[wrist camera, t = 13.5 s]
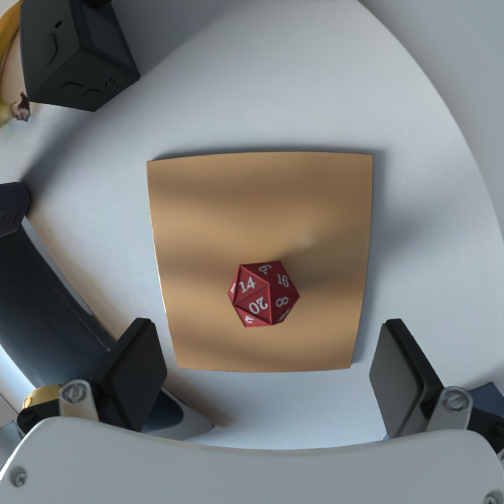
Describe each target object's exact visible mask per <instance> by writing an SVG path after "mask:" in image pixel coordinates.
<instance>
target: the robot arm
mask: <svg viewBox="0 0 504 504" xmlns="http://www.w3.org/2000/svg"><path fill="white" fill-rule="evenodd" d="M166 377H167V368H166V364H165V361H164V357H163V354H162V350H161V346H160V342H159V338H158V335H157V331H156V326H155V324H154V323H153V322H151V320H150V319H147V318H136V319H135V320H134V321H133V322H132V324H131V325H130V326H129V327H128V329H127V330H126V331H125V332H124V334H123V335H122V336H121V337H120V338H119V340H118V341H117V342H116V344H115V345H114V346H113V347H112V349H111V350H110V351H109V352H108V354H107V355H106V356H105V357H104V359H103V360H102V361H101V363H100V364H99V365H98V366H97V368H96V369H95V370H94V372H93V373H92V374H91V376H90V381H89V382H88V383H87V382H86V381H84V380H79V379H76V380H71V381H69V382H67V383H65V384H64V385H63V386H62V387H61V388H60V390H59V394H58V398H57V399H54V400H51V401H47V402H44V403H40V404H36V405H33V406H29V407H27V408H24V409H23V410H22V411H21V412H20V413H19V415H18V417H17V422H16V423H15V422H14V421H11V422H10V423H8V424H6V425H4V426H2V427H1V428H0V504H504V417H501V416H498V415H495V414H492V413H489V412H487V411H484V410H481V409H478V408H476V407H473V406H472V405H473V399H472V396H471V395H470V393H469V392H468V391H467V390H465V389H464V388H461V387H458V386H449V387H447V388H444V386H443V385H442V383H441V381H440V379H439V378H438V376H437V374H436V373H435V371H434V369H433V368H432V366H431V364H430V363H429V361H428V359H427V358H426V356H425V355H424V353H423V351H422V350H421V348H420V347H419V345H418V344H417V342H416V341H415V339H414V338H413V336H412V335H411V333H410V332H409V330H408V329H407V327H406V326H405V324H404V323H403V321H402V320H401V319H389V320H387V321H386V323H383V324H382V327H381V331H380V335H379V339H378V343H377V347H376V351H375V355H374V359H373V362H372V366H371V369H370V374H369V377H370V382H371V384H372V387H373V390H374V393H375V396H376V399H377V402H378V405H379V408H380V411H381V414H382V418H383V421H384V424H385V427H386V431H387V434H388V437H389V439H388V440H382V441H376V442H370V443H363V444H357V445H349V446H340V447H330V448H317V449H295V450H263V449H242V448H229V447H219V446H210V445H202V444H195V443H188V442H182V441H177V440H171V439H166V438H161V437H157V436H152V435H148V434H144V433H140V432H141V430H142V428H143V426H144V424H145V422H146V419H147V417H148V415H149V413H150V411H151V409H152V407H153V404H154V402H155V400H156V398H157V396H158V394H159V392H160V390H161V388H162V385H163V383H164V381H165V379H166Z"/></svg>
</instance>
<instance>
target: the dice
mask: <svg viewBox="0 0 504 504" xmlns="http://www.w3.org/2000/svg"><path fill="white" fill-rule="evenodd" d="M228 296H229V298H230V301H231V303H232V306H233V307H234V309H235V311H236V313H237V315H238V316H239V318H240V320H241V322H242V323H243V325H244V327H245V328H247V327H263V326H273V325H276V324H279V323H282V322H284V320H285V318H286V317H287V315H288V314H289V312H290V311H291V309H292V308H293V306H294V305H295V303H296V302H297V300H298V299H299V298H300V295H299V293H298V291H297V289H296V288H295V286H294V284H293V282H292V281H291V279H290V277H289V275H288V274H287V272H286V270H285V268H284V267H283V265H282V263H281V261H280V260H279V261H272V262H262V263H252V264H240V265H239V267H238V270H237V272H236V274H235V277H234V279H233V282H232V284H231V286H230V289H229V291H228Z"/></svg>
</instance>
